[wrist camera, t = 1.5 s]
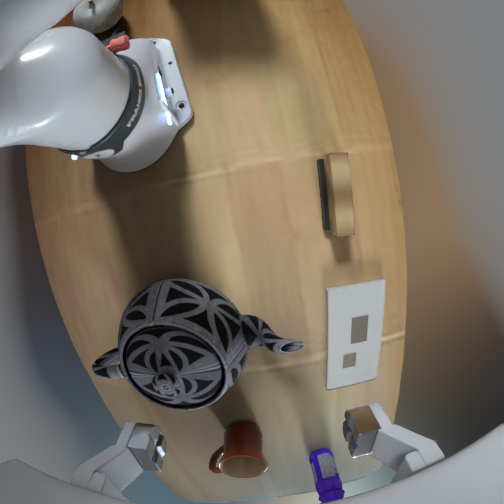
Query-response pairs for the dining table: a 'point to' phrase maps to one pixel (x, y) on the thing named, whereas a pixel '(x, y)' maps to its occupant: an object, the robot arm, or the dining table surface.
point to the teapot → (185, 344)
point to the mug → (240, 451)
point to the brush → (336, 194)
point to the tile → (354, 332)
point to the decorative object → (97, 14)
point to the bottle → (326, 476)
